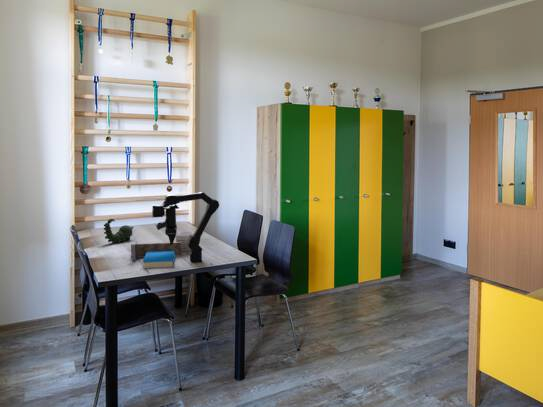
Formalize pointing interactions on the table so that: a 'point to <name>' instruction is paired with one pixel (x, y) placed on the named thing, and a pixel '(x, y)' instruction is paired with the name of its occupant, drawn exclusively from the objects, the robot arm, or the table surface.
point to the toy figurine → (122, 234)
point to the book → (159, 259)
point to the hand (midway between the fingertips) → (171, 243)
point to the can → (183, 241)
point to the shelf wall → (157, 248)
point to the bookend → (134, 250)
